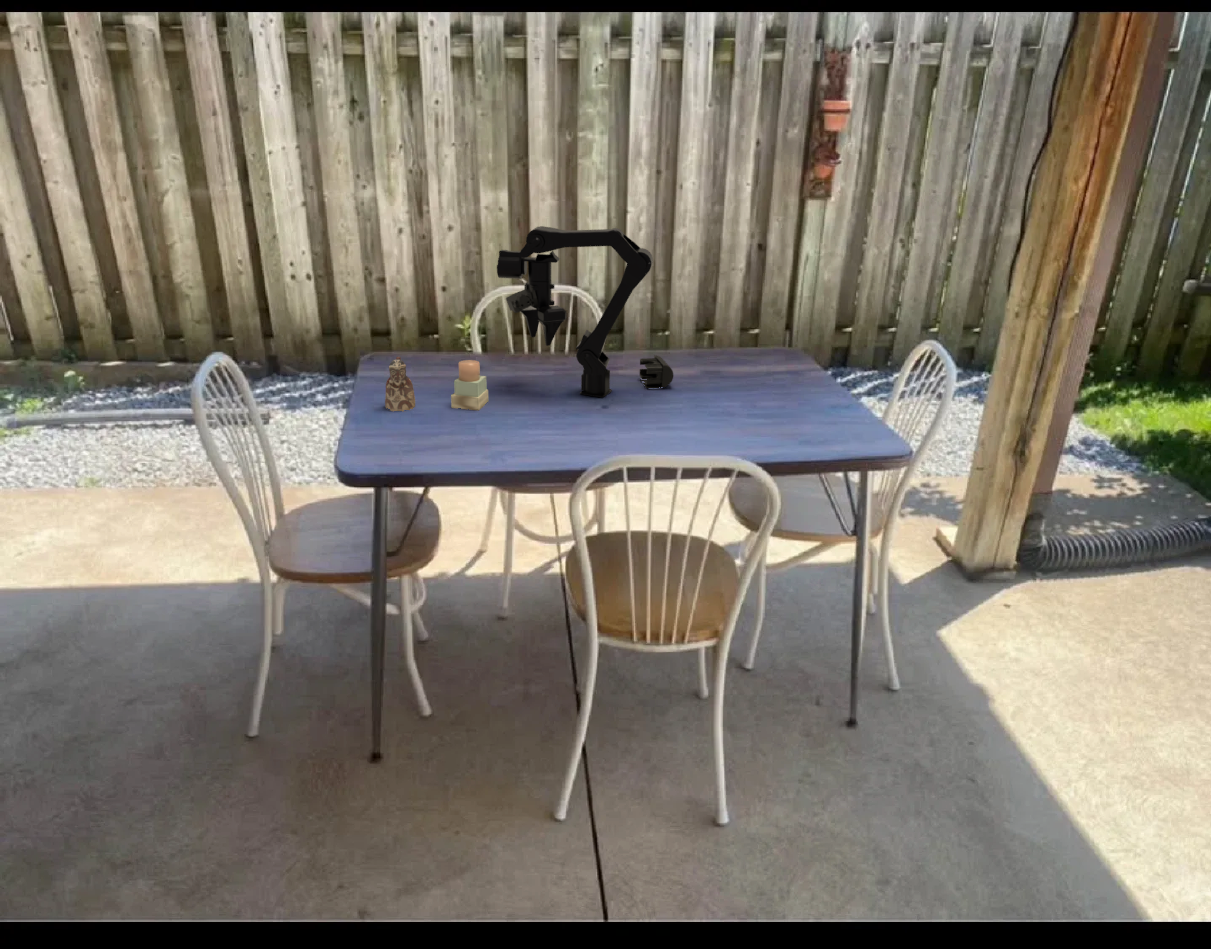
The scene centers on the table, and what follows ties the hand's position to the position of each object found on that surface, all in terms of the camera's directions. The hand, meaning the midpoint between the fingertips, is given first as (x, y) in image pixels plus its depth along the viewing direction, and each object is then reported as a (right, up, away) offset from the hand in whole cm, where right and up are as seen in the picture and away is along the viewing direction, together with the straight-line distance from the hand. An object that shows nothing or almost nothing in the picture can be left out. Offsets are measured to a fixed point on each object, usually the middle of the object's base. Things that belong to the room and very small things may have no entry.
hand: (540, 341), depth 223 cm
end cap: (+30, -10, +13) cm, 34 cm away
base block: (-17, -17, -7) cm, 25 cm away
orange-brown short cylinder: (-17, -11, -10) cm, 22 cm away
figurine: (-33, -18, -10) cm, 39 cm away
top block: (-16, -14, -8) cm, 23 cm away
